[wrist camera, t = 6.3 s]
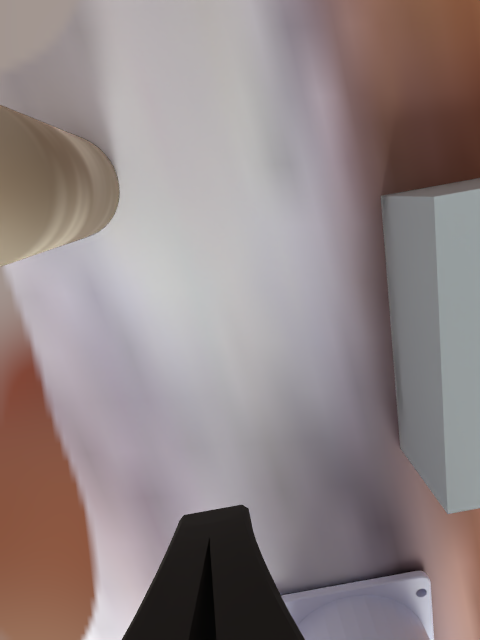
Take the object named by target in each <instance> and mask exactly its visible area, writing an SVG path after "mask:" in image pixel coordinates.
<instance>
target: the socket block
mask: <svg viewBox="0 0 480 640" xmlns="http://www.w3.org/2000/svg"><path fill="white" fill-rule="evenodd" d="M381 207H382V220H383V233H384V246H385V259H386V271H387V284H388V297H389V310H390V323H391V336H392V349H393V362H394V375H395V388H396V401H397V413H398V426H399V439H400V448H401V450H402V451H403V453H404V454H405V455H406V457H407V458H408V460H409V461H410V462H411V464H412V465H413V467H414V468H415V469H416V471H417V472H418V473H419V475H420V476H421V478H422V479H423V480H424V482H425V483H426V485H427V486H428V487H429V489H430V490H431V492H432V493H433V494H434V496H435V497H436V498H437V500H438V501H439V503H440V504H441V505H442V507H443V508H444V510H445V511H446V512H447V514H450V513H456V512H461V511H467V510H472V509H478V508H480V178H476V179H471V180H465V181H460V182H454V183H449V184H443V185H438V186H432V187H427V188H421V189H416V190H410V191H405V192H399V193H394V194H388V195H383V196H381Z"/></svg>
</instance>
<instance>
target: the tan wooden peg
mask: <svg viewBox="0 0 480 640" xmlns="http://www.w3.org/2000/svg"><path fill="white" fill-rule="evenodd" d="M118 202H119V182H118V178H117V175H116V172H115V170H114V167H113V165H112V164H111V162H110V160H109V159H108V158H107V156H106V155H105V154H104V153H103V152H102V151H101V150H100V149H99V148H98V147H97V146H95V145H94V144H92V143H91V142H89V141H87V140H85V139H83V138H81V137H78V136H76V135H73V134H71V133H68V132H66V131H63V130H61V129H58V128H56V127H54V126H51V125H49V124H46V123H44V122H41V121H39V120H36V119H34V118H31V117H29V116H26V115H24V114H21V113H19V112H16V111H14V110H12V109H9V108H7V107H4V106H2V105H0V267H1V266H4V265H7V264H10V263H13V262H16V261H19V260H22V259H25V258H28V257H30V256H33V255H36V254H39V253H42V252H45V251H48V250H51V249H54V248H57V247H60V246H62V245H65V244H68V243H71V242H74V241H77V240H80V239H83V238H86V237H89V236H91V235H94V234H95V233H97V232H99V231H100V230H102V229H103V228H104V227H105V226H106V225H107V224H108V223H109V222H110V220H111V219H112V218H113V216H114V214H115V212H116V209H117V206H118Z"/></svg>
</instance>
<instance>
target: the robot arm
mask: <svg viewBox="0 0 480 640" xmlns="http://www.w3.org/2000/svg"><path fill="white" fill-rule="evenodd" d="M419 589H420V590H419ZM122 640H434V629H433V613H432V596H431V582H430V579H429V577H428V575H427V574H426V573H425V572H423V571H413V572H407V573H402V574H396V575H391V576H386V577H380V578H375V579H369V580H364V581H358V582H353V583H347V584H342V585H336V586H331V587H325V588H320V589H314V590H309V591H303V592H298V593H292V594H287V595H280V593H279V591H278V589H277V587H276V585H275V583H274V581H273V579H272V577H271V575H270V572H269V570H268V568H267V566H266V564H265V562H264V559H263V557H262V555H261V552H260V549H259V547H258V544H257V542H256V539H255V536H254V533H253V529H252V524H251V519H250V514H249V509H248V508H247V507H245V506H244V505H237V506H232V507H226V508H221V509H215V510H210V511H204V512H199V513H193V514H188V515H184V516H183V517H182V518H181V520H180V521H179V523H178V526H177V528H176V531H175V533H174V536H173V538H172V540H171V543H170V545H169V547H168V549H167V552H166V554H165V556H164V558H163V560H162V563H161V565H160V567H159V569H158V571H157V573H156V575H155V577H154V579H153V581H152V583H151V585H150V587H149V589H148V591H147V593H146V595H145V597H144V599H143V601H142V603H141V605H140V607H139V609H138V611H137V613H136V615H135V617H134V619H133V621H132V622H131V624H130V626H129V628H128V629H127V631H126V633H125V635H124V637H123V638H122Z"/></svg>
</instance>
